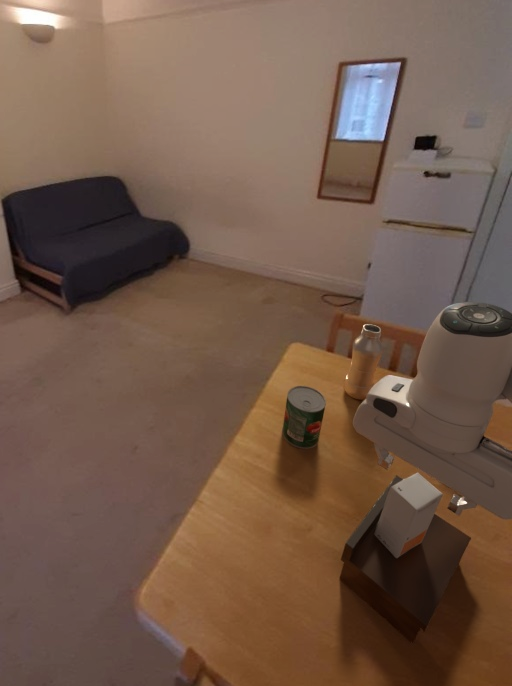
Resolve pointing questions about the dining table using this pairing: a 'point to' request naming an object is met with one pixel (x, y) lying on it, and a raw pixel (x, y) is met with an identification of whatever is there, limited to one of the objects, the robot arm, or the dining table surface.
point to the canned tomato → (303, 416)
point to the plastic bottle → (364, 362)
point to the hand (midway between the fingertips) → (417, 486)
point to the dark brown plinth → (402, 570)
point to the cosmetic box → (407, 514)
